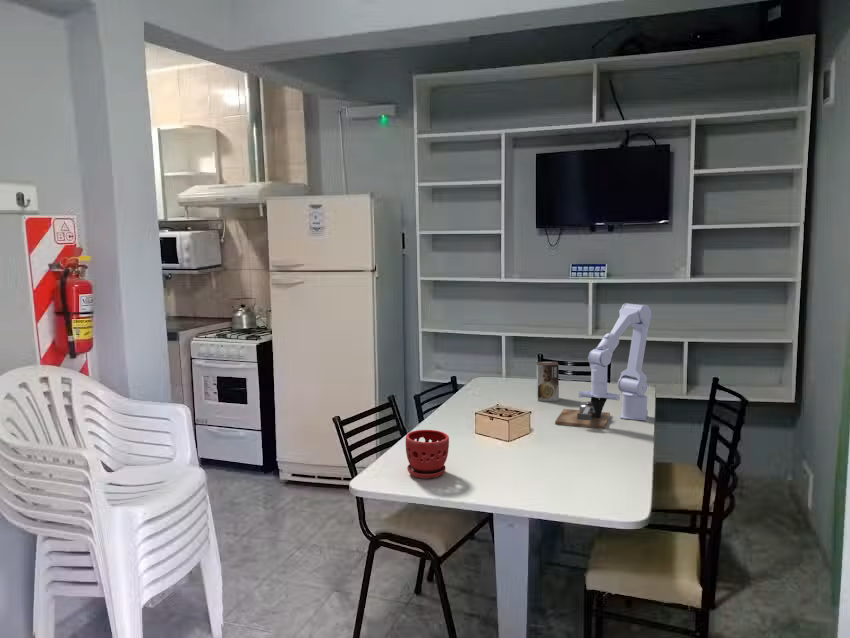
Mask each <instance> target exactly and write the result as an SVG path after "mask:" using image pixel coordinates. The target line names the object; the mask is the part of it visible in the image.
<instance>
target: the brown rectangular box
mask: <svg viewBox="0 0 850 638" xmlns="http://www.w3.org/2000/svg"><path fill="white" fill-rule="evenodd" d="M559 369H560V367H559V363H558V361H536V399H537V402H558V401H559V400H560V397H559V396H560V395H559V394H560V391H559V385H560V384H559V383H560V382H559V381H560V380H559V379H560V378H559V377H560V376H559V375H560V373H559Z"/></svg>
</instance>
